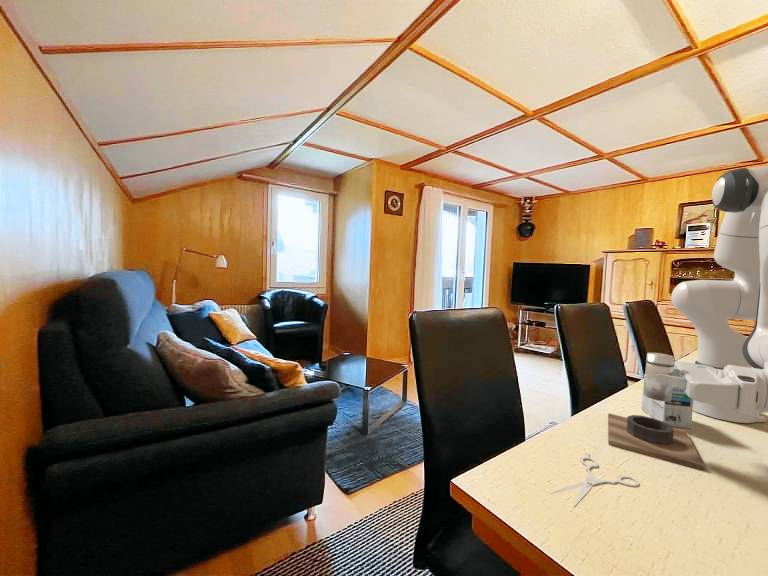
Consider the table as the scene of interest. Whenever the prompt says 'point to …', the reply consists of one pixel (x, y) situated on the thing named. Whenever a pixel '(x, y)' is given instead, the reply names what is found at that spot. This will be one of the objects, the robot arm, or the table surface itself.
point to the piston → (653, 366)
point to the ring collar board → (652, 439)
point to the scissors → (594, 480)
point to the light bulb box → (670, 408)
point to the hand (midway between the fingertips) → (654, 373)
